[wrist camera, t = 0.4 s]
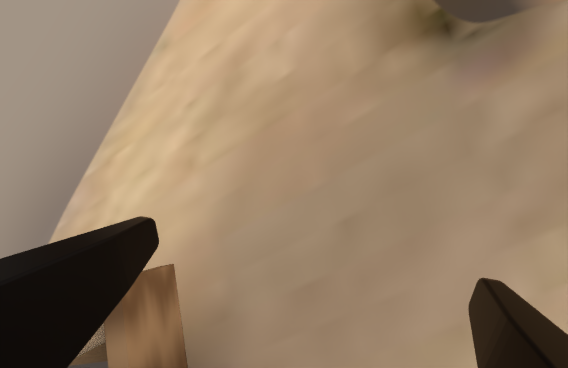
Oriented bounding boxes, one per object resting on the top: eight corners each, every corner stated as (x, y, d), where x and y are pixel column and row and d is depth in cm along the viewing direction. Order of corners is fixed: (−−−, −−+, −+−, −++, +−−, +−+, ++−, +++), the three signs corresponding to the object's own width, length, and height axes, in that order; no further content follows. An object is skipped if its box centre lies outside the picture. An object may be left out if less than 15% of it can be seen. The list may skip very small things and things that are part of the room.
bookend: (172, 341, 24) (128, 373, 19) (115, 348, 25) (59, 380, 20) (167, 303, 24) (123, 325, 20) (111, 312, 26) (56, 335, 21)
